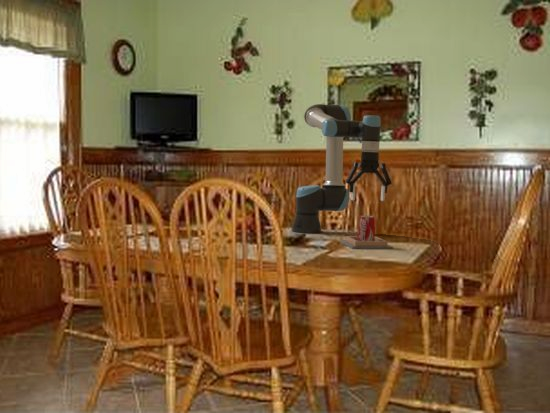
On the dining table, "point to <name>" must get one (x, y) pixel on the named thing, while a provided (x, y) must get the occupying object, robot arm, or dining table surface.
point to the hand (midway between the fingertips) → (367, 200)
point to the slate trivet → (365, 243)
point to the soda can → (366, 228)
